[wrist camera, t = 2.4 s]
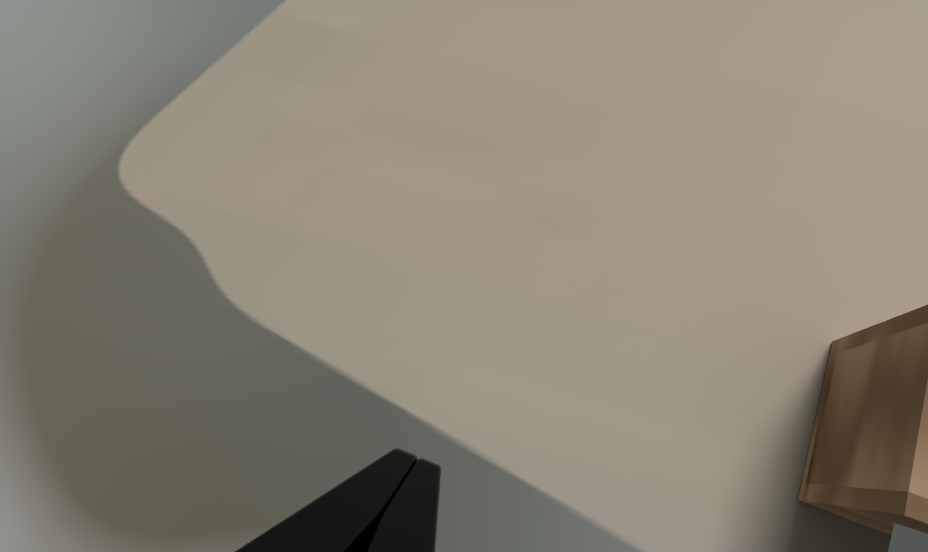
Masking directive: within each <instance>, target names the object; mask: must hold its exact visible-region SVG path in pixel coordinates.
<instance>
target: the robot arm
mask: <svg viewBox="0 0 928 552" xmlns="http://www.w3.org/2000/svg"><path fill="white" fill-rule="evenodd" d="M440 477H441V467H440V466H439V465H438V464H436V463H433V462H431V461H428V460H426V459H423V458H420V459H417V456H415V455H414V454H411V453H409V452H406V451H404V450H402V449H399V448H397V449H393V450H392V451H390V452H389V453H387V454H386V455H384V456H382V457H381V458H379V459H378V460H376V461H375V462H373V463H372V464H370V465H368V466H367V467H366V468H364V469H362V470H361V471H359V472H358V473H356V474H355V475H353V476H352V477H350V478H348V479H347V480H345V481H344V482H342V483H341V484H339V485H337V486H336V487H334V488H333V489H331V490H330V491H329V492H327V493H325V494H324V495H322V496H320V497H319V498H317V499H316V500H314V501H313V502H311V503H309V504H308V505H306V506H305V507H303V508H302V509H300V510H299V511H297V512H296V513H294V514H293V515H291V516H289V517H288V518H286V519H285V520H283V521H282V522H280V523H278V524H277V525H275V526H274V527H272V528H271V529H269V530H268V531H266V532H265V533H263V534H261V535H260V536H258V537H257V538H256V539H254V540H252V541H251V542H249V543H247V544H246V545H244V546H243V547H241V548H240V549H238V550H237V551H235V552H435V544H436V531H437V518H438V503H439V491H440Z"/></svg>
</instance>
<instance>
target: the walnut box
mask: <svg viewBox="0 0 928 552" xmlns="http://www.w3.org/2000/svg"><path fill="white" fill-rule="evenodd" d="M798 500H799V501H802V502H804V503H807V504H810V505H812V506H815V507H818V508H820V509H823V510H825V511H828V512H831V513H833V514H836V515H839V516H841V517H844V518H847V519H849V520H852V521H854V522H857V523H860V524H862V525H865V526H868V527H870V528H873V529H876V530H878V531H881V532H884V533H886V534H889V535H891V536H892V531H893V527H894V523H895V524H898V525H902V526H905V527H908V528H911V529H914V530H917V531H920V532H923V533H927V534H928V305H926V306H923V307H921V308H918V309H916V310H913V311H910V312H908V313H905V314H903V315H900V316H897V317H895V318H892V319H890V320H887V321H884V322H882V323H879V324H877V325H874V326H871V327H869V328H866V329H864V330H861V331H858V332H856V333H853V334H851V335H848V336H845V337H843V338H840V339H838V340H835V341H833V342H832V346H831V351H830V355H829V360H828V364H827V369H826V374H825V378H824V383H823V387H822V392H821V396H820V401H819V406H818V410H817V415H816V419H815V424H814V428H813V433H812V437H811V442H810V447H809V451H808V456H807V460H806V465H805V469H804V474H803V479H802V483H801V488H800V492H799V497H798Z"/></svg>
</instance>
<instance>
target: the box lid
mask: <svg viewBox="0 0 928 552" xmlns="http://www.w3.org/2000/svg"><path fill="white" fill-rule="evenodd" d="M888 552H928V534H927V533H923V532H920V531H917V530H914V529H911V528H908V527H905V526H902V525H898V524H895V523H894V527H893V531H892V536H891V540H890V544H889V549H888Z"/></svg>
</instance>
